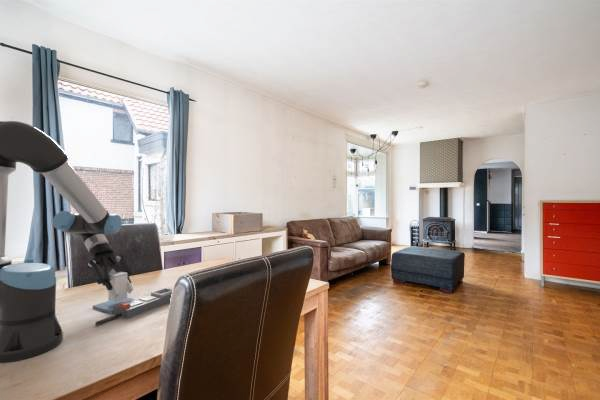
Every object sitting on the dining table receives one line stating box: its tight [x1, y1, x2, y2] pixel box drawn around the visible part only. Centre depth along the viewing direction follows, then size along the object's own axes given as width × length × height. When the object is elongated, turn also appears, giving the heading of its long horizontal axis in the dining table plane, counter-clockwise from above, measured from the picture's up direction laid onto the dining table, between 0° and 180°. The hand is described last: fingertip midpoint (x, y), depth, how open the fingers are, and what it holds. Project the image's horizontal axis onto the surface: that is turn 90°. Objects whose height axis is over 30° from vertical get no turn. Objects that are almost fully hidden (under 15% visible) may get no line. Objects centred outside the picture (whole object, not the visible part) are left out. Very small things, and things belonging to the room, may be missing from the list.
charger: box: [107, 272, 128, 302], centre depth 114 cm, size 5×4×10 cm
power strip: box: [95, 287, 173, 326], centre depth 111 cm, size 32×8×4 cm, turn 154°
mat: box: [92, 296, 136, 315], centre depth 114 cm, size 12×12×1 cm
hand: (124, 293), depth 112 cm, fingers closed on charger, 5 cm apart
